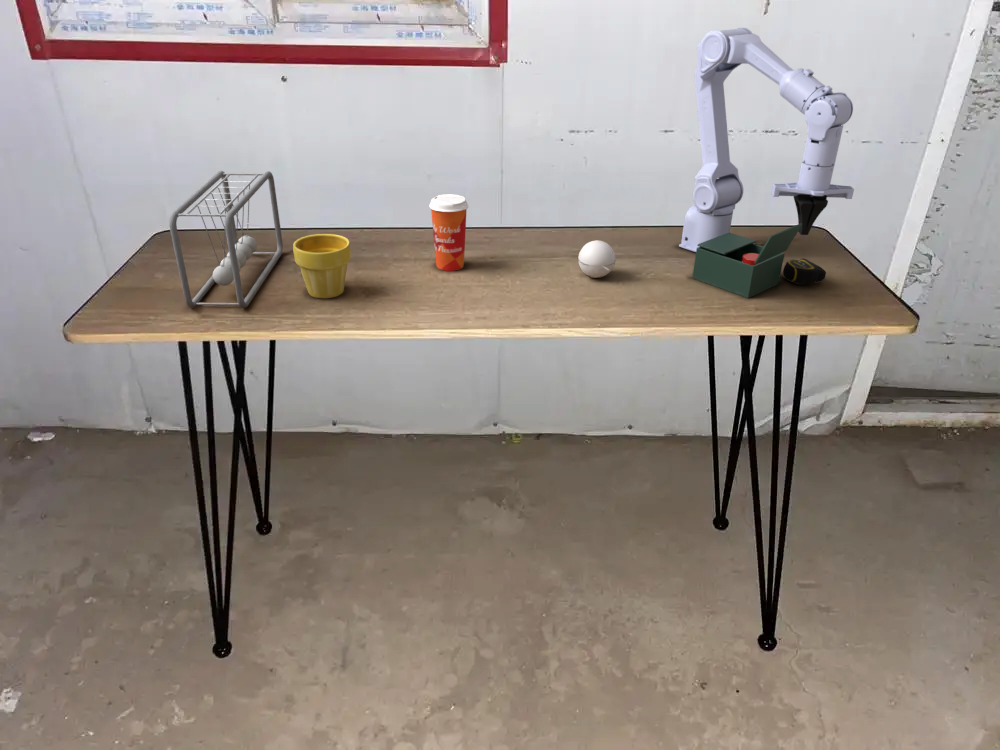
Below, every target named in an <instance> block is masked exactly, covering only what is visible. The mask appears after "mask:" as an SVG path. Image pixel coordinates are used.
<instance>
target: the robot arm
mask: <svg viewBox="0 0 1000 750" xmlns="http://www.w3.org/2000/svg"><path fill="white" fill-rule="evenodd" d="M696 51H697V63H696V67H695V72H694V87H695V88H694V89H695V99H696V100H695V101H696V107H697V108H696V110H697V119H698V121H697V122H698V129H699V141H700V152H701V163H702V166H701V167H700V169H699V171H698V172H697V173H696V175H695V177H694V189H693V192H692V200H693V205H691V206H690V207H689V208H688V210H687V212H686V213H685V216H684V220H683V227H682V233H681V234H682V235H681V241H680V243H679V244H678V247H679V248H682V249H685V250H688V251H691V252H694V253H696V250H697V248H698V247H700V246H698V244H700V243H702V242H705V241H708V240H710V239H713V238H716V237H718V236H721V235H724V234H726V233H729V232H730V233H731V228H732V227H731V226H732V220H733V215H734V210H735V209H736V205H737V204H738V203H740V202H741V200H742V199H743V197H744V185H743V182H742V181H741V179H740V176H739V169H738V168H737V167H736V165H734V164H733V163H732V162H731V158H730V144H729V134H728V133H729V131H728V123H727V121H728V120H727V110H726V109H727V108H726V98H725V85H724V83H725V81H726V80H727V78H728V77H730V74H731V73H732V72H733V71H734V70H735V69H737V68H738V67H739V66H741V65H743V64H745V65H746V64H747V65H749V66H751V67H752V68H754V70H756V71H758V73H759V72H760V73H761V74H762V75H764V76H765V77H767V78H768V79H769V80H771V81H772V82H773V83H775V84H776V85H778V87H779V95H780V96H781V97H782V98H783V99H784V100H785V101H787V102H788V103H789V104H790V105H792V106H793V107H794V108H795V109H797V110H798V111H799V112H800V113H802V114H803V115H804V119H805V123H806V125H807V132H806V140H805V146H804V150H803V155H802V159H801V166H800V170H799V175H798V179H797V182H787V183H786V182H785V183H772V187H771V191H770V194H771V196H772V197H773V198H779V197H793V201H794V203H795V209H796V212H797V218H798V219H797V220H798V221H797V225H798V224H800V223H802V226H801V227H800V229H799V231H798V232H797V233H798V234H799V235H800V236H808V235H809V234H810V231H811V229H812V227H813V226H814V223H815V222H816V220H817V219H818V218H819V216H820V215H821V213H822V212H823V211H824V210H825V209H826V207H827V206H828V205H829V200H828V199H827V198H839V199H841V198H842V199H846V200H852V199H853V196H854V192H855V188H854V187H853V186H851V185H842V184H841V185H839V184H834V183H833V184H831V182H832V177H833V173H834V170H835V165H836V161H837V157H838V153H839V152H838V151H839V148H840V144H841V139H842V135H843V134H842V133H843V129H844V125H845V124H847V123H848V122H849V120H850V119H851V118H852V116H853V113H854V104H853V101H852V100H851V98H850V97H849V96H848V95H847V93H846V92H840V91H838V92H833V87H831V86H830V85H825V84H824V83H822V82H821V81H820V80H819V79H817V78H816V77H815V76H813V75H814V74H815V72H814V71H813V70H812V69H810V68H807V69H805V68H797V69H793V68H792V67H790V66H789V65H788V64H787V63H786V62H785V61H784V60H783V59H782V58H780V57H779V56H778V55H777V54H776V53H775V52H774V51H773V50H771V49H770V48H769V47H768V46H767V45H766V44H765V43H764V42H763V41H762V40H761V38H760V36H759V35H758V34H756V33H753V32H752V31H751V29H749V28H748V27H742V26H741V27H738V28H733V29H732V28H730V29H721V30H719V29H713V30H710V31H708V32H707V33H706V34H705V35H704V36H703V37H702V39H701V40H700V42H699V43H698V45H696Z"/></svg>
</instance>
